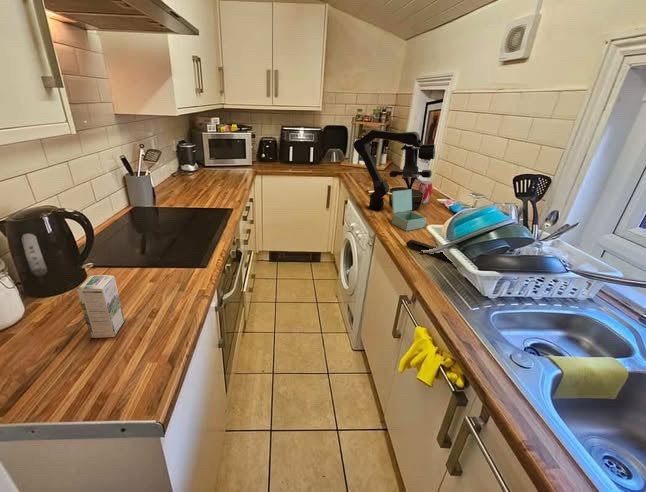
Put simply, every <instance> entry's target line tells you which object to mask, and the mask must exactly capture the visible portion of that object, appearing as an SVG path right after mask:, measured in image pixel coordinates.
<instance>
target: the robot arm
mask: <svg viewBox="0 0 646 492" xmlns="http://www.w3.org/2000/svg"><path fill="white" fill-rule="evenodd" d="M375 139H378V140H388V141H394V142H398V143H400V144H404V145H403V146H401V148H400V150H401V151H404V165H403V168H402V170H401V169H392V170H390V172H389V177H390V178H396V177H398V176H401V180H402V179H403V180H404V182H405V184H406V187H407V190H408V189H412V188H413V186H414V182H415V181H416V180H418V179H419V177H422V178H423V179H425V178H427V179H430V178H431V177H432V176H433V175H432V169H422V170H421V171H419V166H418V158H420V160H435V157H436V144H435V143H432V144H424V143H423V142H422V140H421V138H420V134H419V133H418V132H417V131H405V132H404V131H403V132H397V131H389V130H379V129H375V128H374V129H372V130H370V131H369V132H368V133H366V134H365V135H364V136H362V137H361V138H358V139H356V140H355V141H354V142H353V148H354V150H355V152H356V153H357V154H358V155H359V156H360V157H361V159H362V161H363V163H364V165H365V167H366V169H367V172H368V174H369V176H370V178H371V181H372V185H373V186H372V187H373V191H372V192H371V193H370V194H369V205H368V206H367V209H369V210H372V211H376V212H380V211H381V210H384V205H385V201H384V199H385V198H384V196H386V195H387V194H388V193H389V191H390V184H389V183H388V180H387V179H383V178H382V176H381V174H380V172H379V170H378V168H377V166H376V162H375V161H374V158H373V157H372V155H371V148H370V147H371V146H370V143H372V142H373V141H374V140H375Z"/></svg>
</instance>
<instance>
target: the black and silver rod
mask: <svg viewBox="0 0 646 492" xmlns="http://www.w3.org/2000/svg"><path fill="white" fill-rule="evenodd" d="M406 247H407V248H408V249H411V250H414V251H417V252H420V251H421V250H429V249H433V248H436V247H437V246H433V245H431V244H427V243H425V242H421V241H419V240H416V239H409V240H408V241H407V242H406ZM428 255H430V256H432V257H435V258H437V259H441V260H444V261H446V262H449V263H452V262H451V261H450V260H449V259H447V257H446V256H445V255H444V254H443V252H440V253H434V254H428Z"/></svg>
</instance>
